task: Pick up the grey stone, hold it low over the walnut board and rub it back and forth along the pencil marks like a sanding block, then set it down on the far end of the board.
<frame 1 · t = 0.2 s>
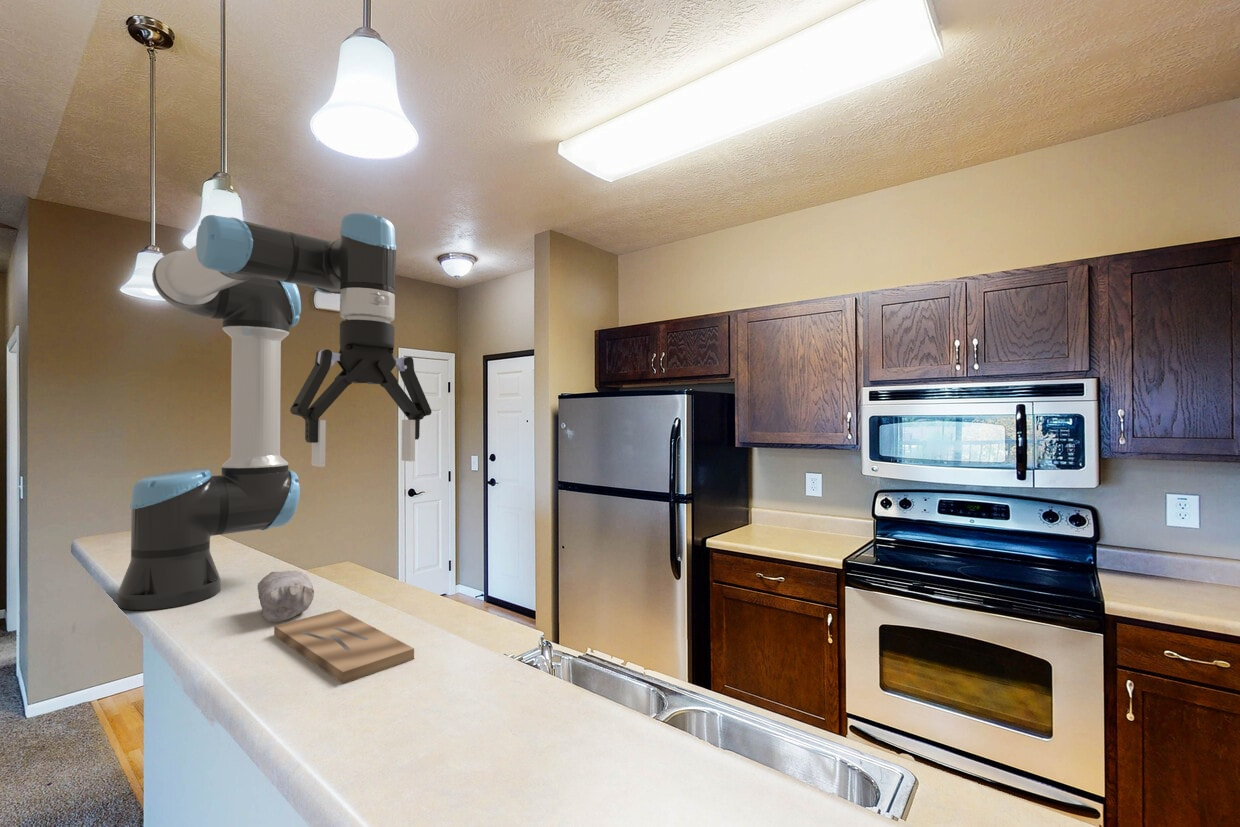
hand: (365, 463, 86), 27 cm above the countertop, fingers open, 13 cm apart
board: (340, 646, 86), on the countertop
stone: (286, 615, 99), on the countertop
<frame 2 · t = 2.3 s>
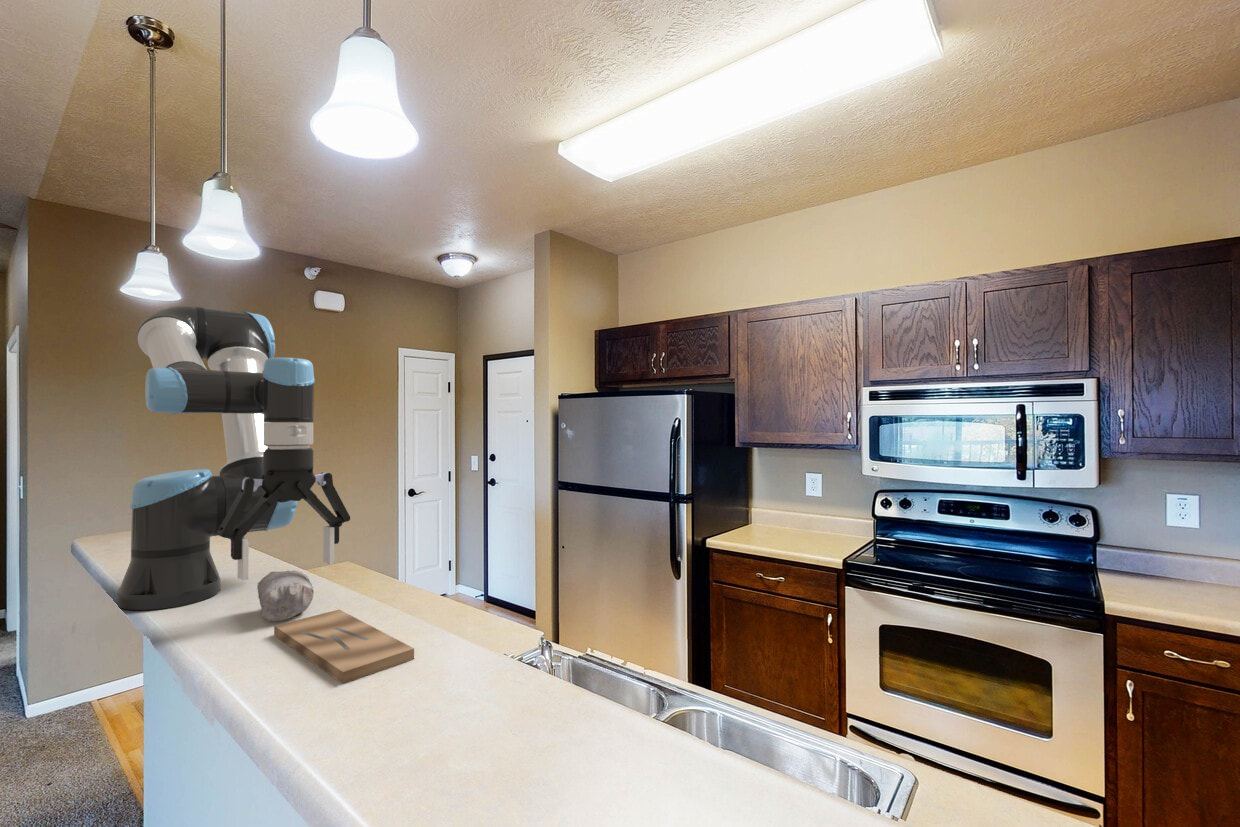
hand: (288, 570, 99), 8 cm above the countertop, fingers open, 13 cm apart
nothing on the countertop moved.
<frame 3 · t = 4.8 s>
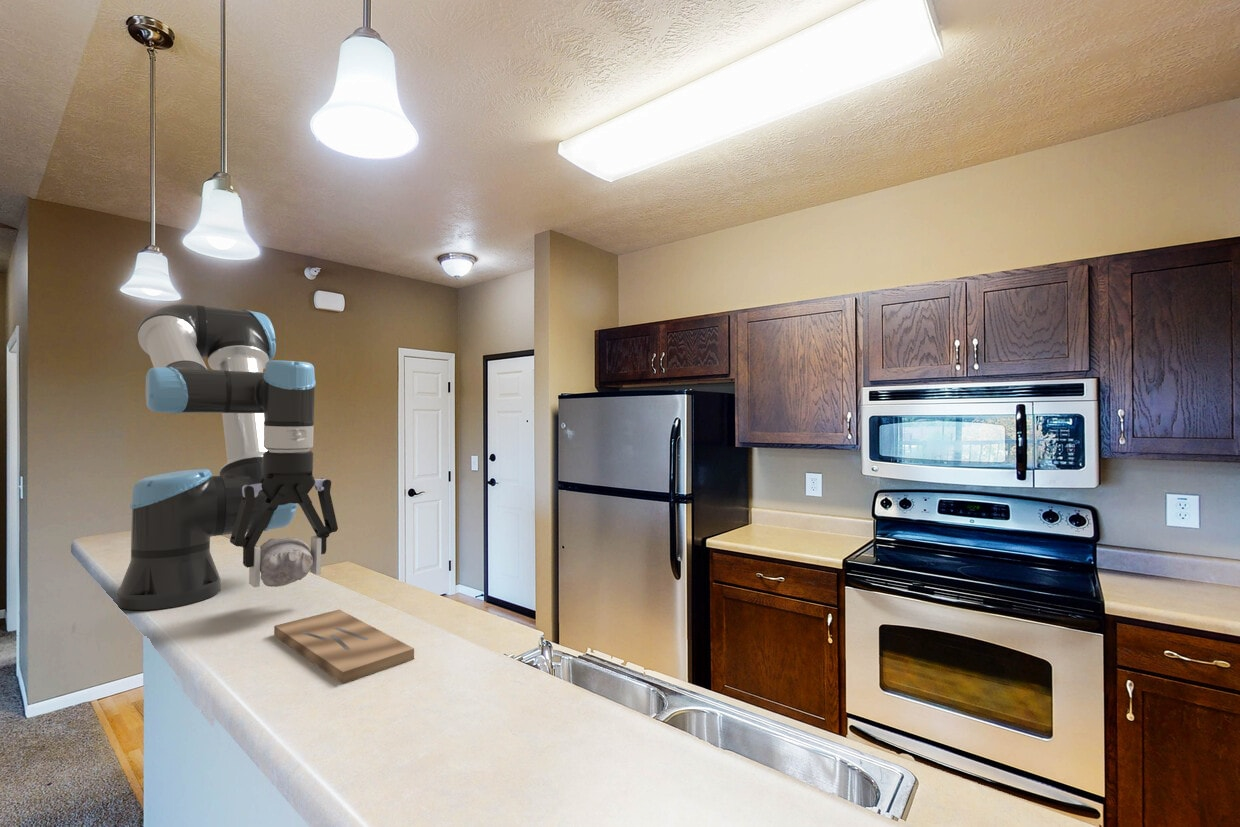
hand: (285, 578, 100), 6 cm above the countertop, fingers closed on stone, 9 cm apart
stone: (285, 581, 100), point 5 cm above the countertop, touching gripper
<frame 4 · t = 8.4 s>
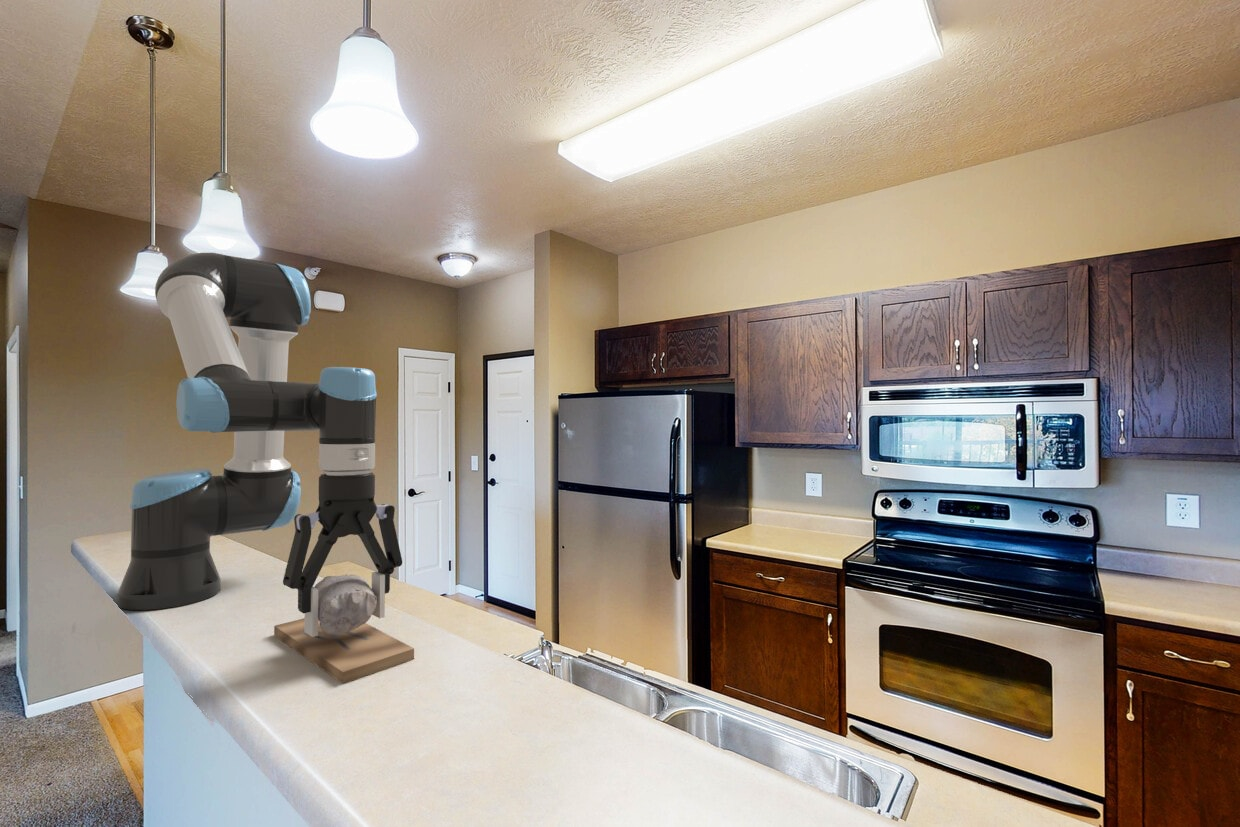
hand: (345, 624, 85), 4 cm above the countertop, fingers closed on stone, 9 cm apart
stone: (345, 626, 85), point 3 cm above the countertop, touching gripper
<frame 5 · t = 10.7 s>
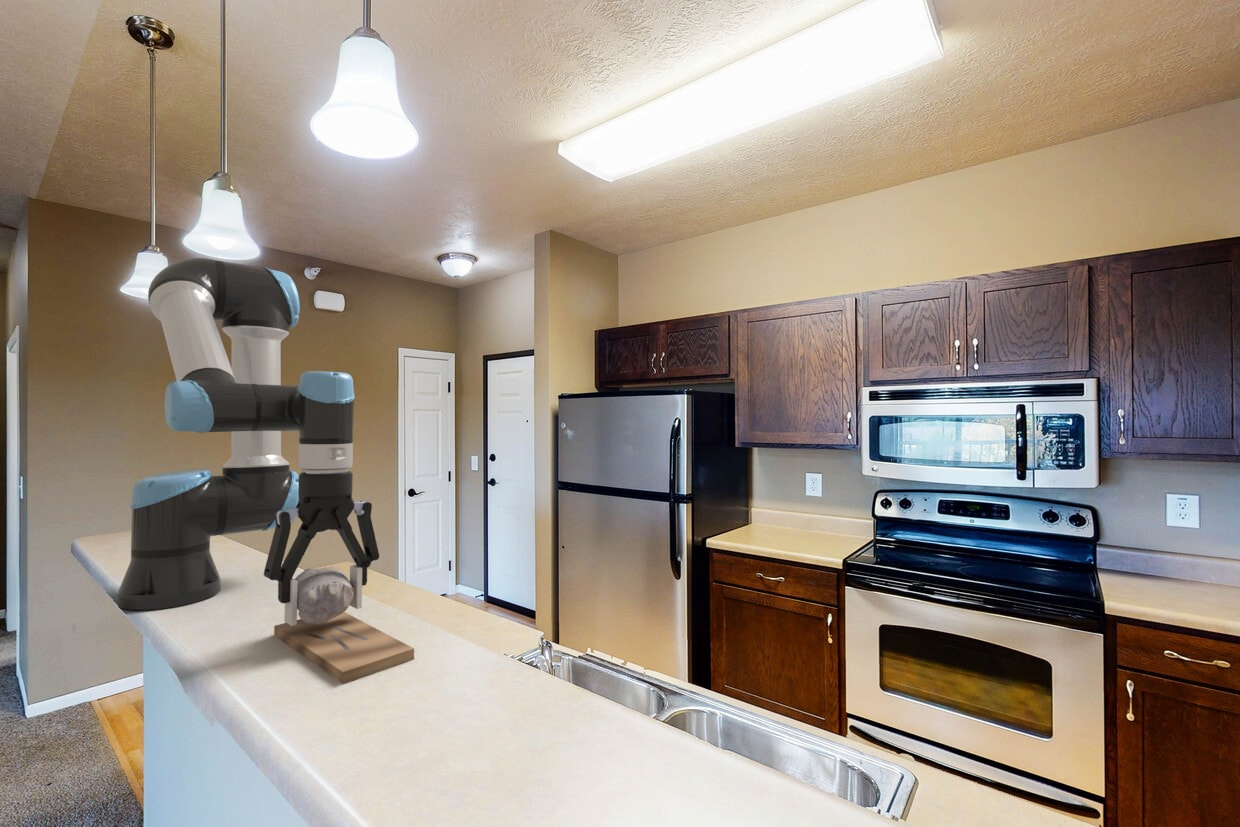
hand: (324, 614, 89), 3 cm above the countertop, fingers closed on stone, 9 cm apart
stone: (323, 616, 90), point 3 cm above the countertop, touching gripper
when the fingers open (3 cm above the countertop, at t = 12.4 s): stone drops 2 cm, resting on board.
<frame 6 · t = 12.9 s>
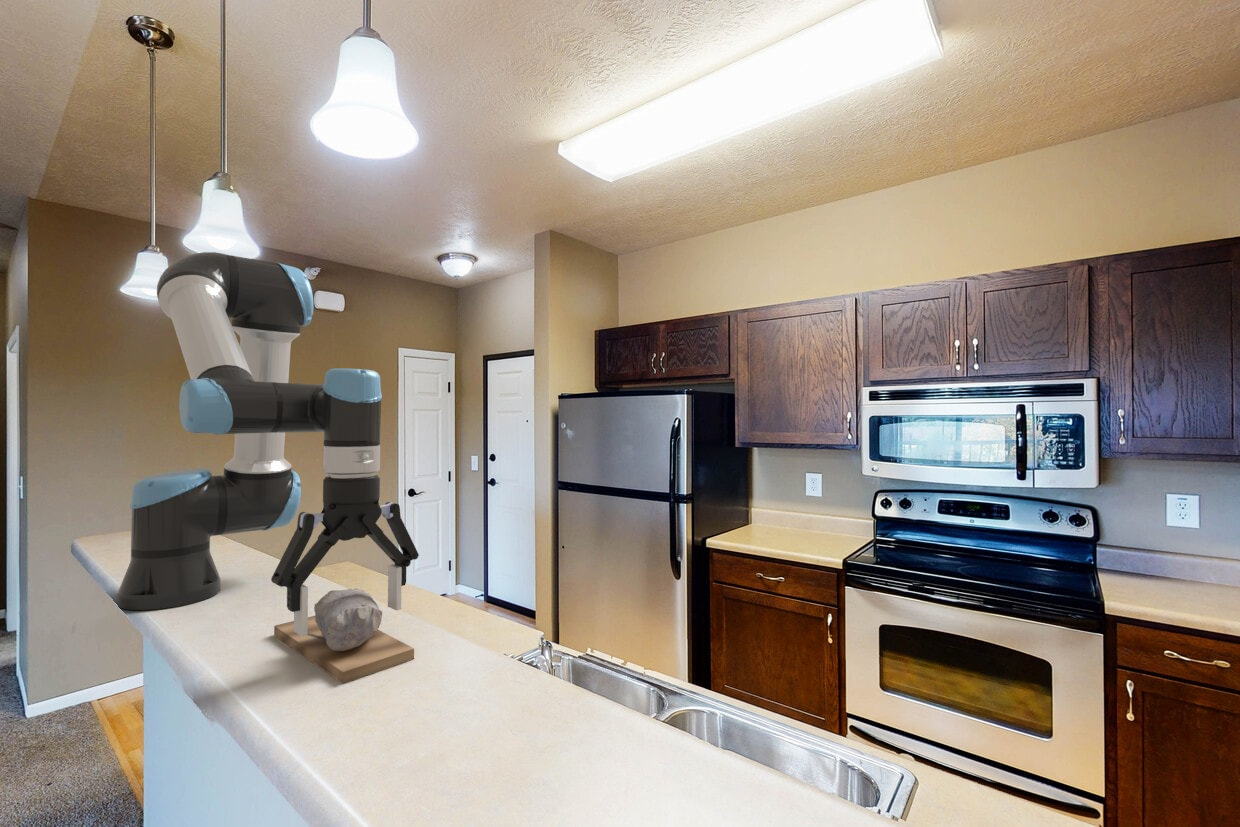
hand: (350, 620, 84), 5 cm above the countertop, fingers open, 13 cm apart
stone: (349, 641, 84), point 1 cm above the countertop, touching board
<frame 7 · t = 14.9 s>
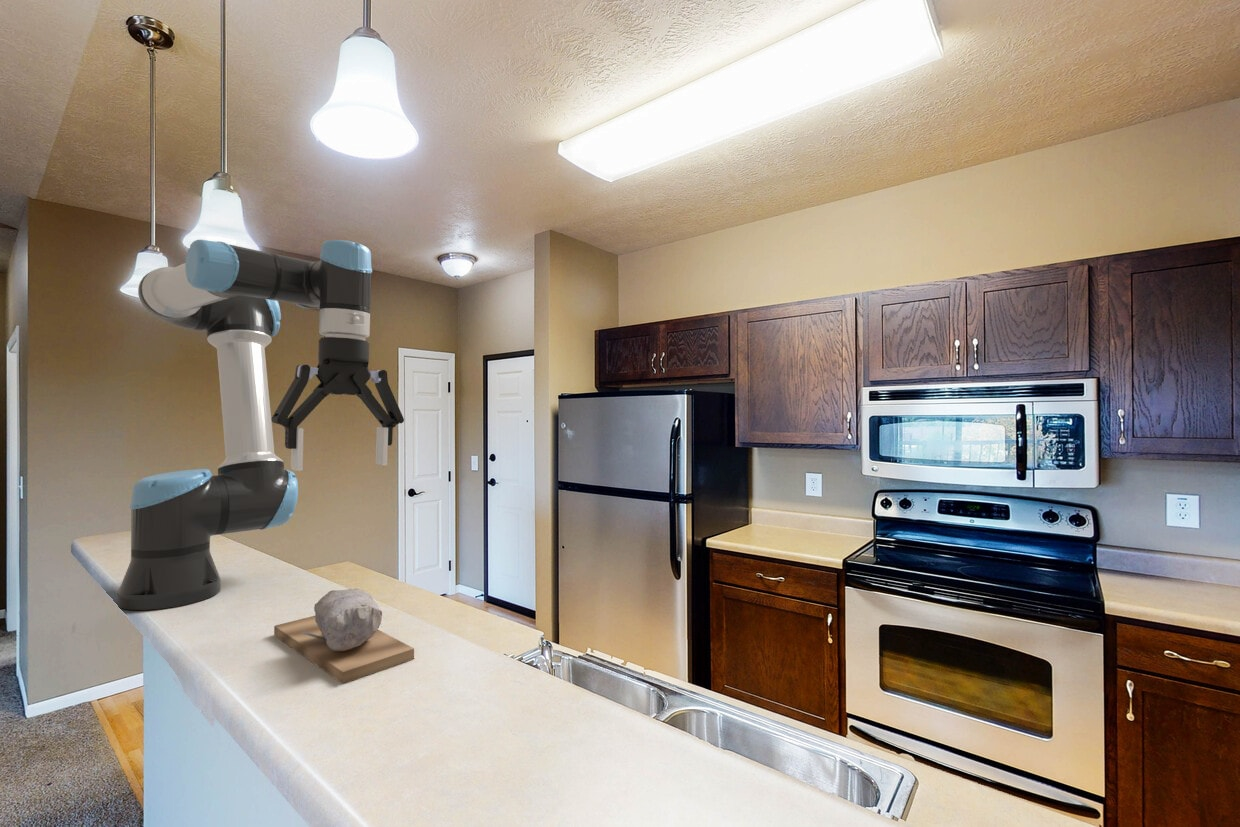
hand: (341, 467, 94), 26 cm above the countertop, fingers open, 13 cm apart
nothing on the countertop moved.
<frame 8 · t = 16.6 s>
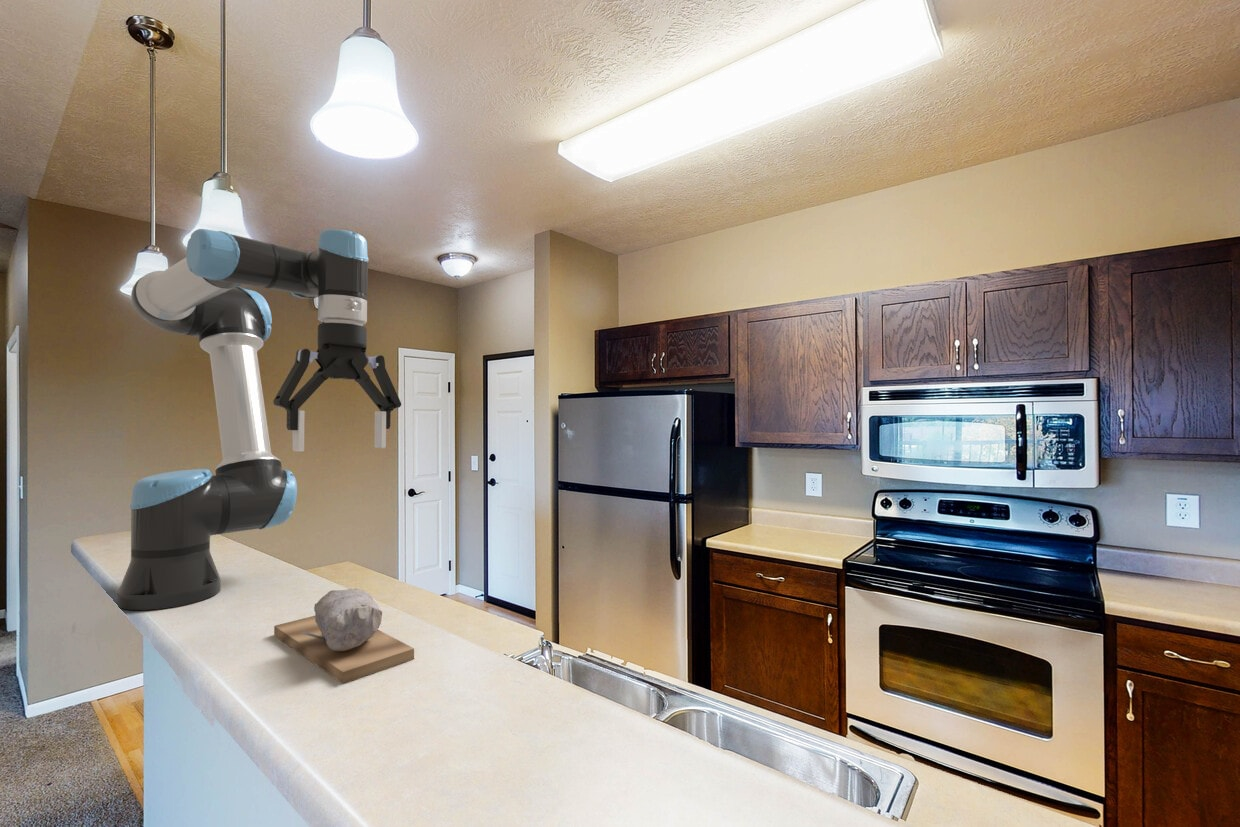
hand: (341, 449, 97), 29 cm above the countertop, fingers open, 13 cm apart
nothing on the countertop moved.
at the end: stone inside the target area (4.5 cm from its centre), point 1.3 cm above the countertop; stone touching board; the gripper is holding nothing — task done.
